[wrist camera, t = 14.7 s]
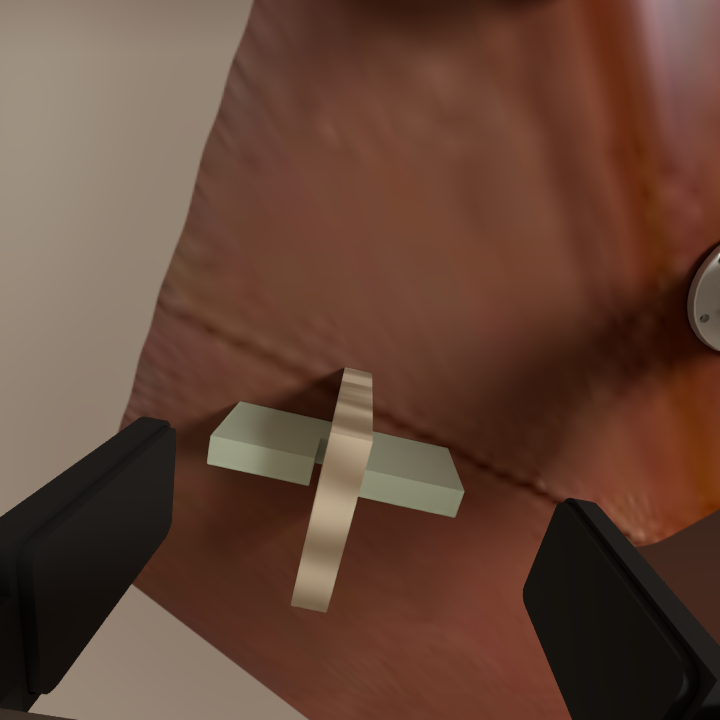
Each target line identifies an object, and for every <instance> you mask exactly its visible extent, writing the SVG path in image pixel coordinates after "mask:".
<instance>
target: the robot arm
mask: <svg viewBox="0 0 720 720" xmlns="http://www.w3.org/2000/svg"><path fill="white" fill-rule="evenodd" d="M687 312H688V319H689V322H690V325H691V328H692V329H693V331H694V333H695V334H696V336H697V337H698V338H699V339H700V340H701V341H702V342H703V343H704V344H705V345H707V346H709V347H711V348H712V349H714V350H717V351H720V245H719V246H718V247H717V248H716V249H715V250H714V251H713V252H712V253H711V254H710V255H709V256H708V257H707V258H706V259H705V261H704V262H703V263H702V265H701V266H700V268H699V269H698V271H697V273H696V275H695V277H694V279H693V281H692V284H691V287H690V290H689V293H688V301H687ZM175 451H176V430H175V429H174V428H170V423H169V422H168V421H165V420H160V419H155V418H149V417H141V418H139V419H137V420H136V421H134V422H133V423H132V424H130V425H129V426H127V427H126V428H125V429H123V430H122V431H120V432H119V433H118V434H116V435H115V436H113V437H112V438H111V439H109V440H108V441H106V442H105V443H104V444H102V445H101V446H99V447H98V448H97V449H95V450H94V451H92V452H91V453H90V454H88V455H87V456H85V457H84V458H83V459H81V460H80V461H78V462H77V463H76V464H74V465H73V466H71V467H70V468H69V469H67V470H66V471H64V472H63V473H62V474H60V475H59V476H57V477H56V478H55V479H53V480H52V481H50V482H49V483H47V484H46V485H45V486H43V487H42V488H40V489H39V490H38V491H36V492H35V493H33V494H32V495H31V496H29V497H28V498H26V499H25V500H24V501H22V502H21V503H19V504H18V505H17V506H15V507H14V508H13V509H11V510H10V511H8V512H7V513H5V514H4V515H3V516H1V517H0V720H75V719H68V718H61V717H55V716H48V715H42V714H35V713H29V712H28V711H29V709H30V708H31V707H32V705H33V704H34V703H35V701H36V700H37V699H38V698H39V696H40V695H41V694H48V693H50V692H51V691H52V690H53V689H54V688H55V687H56V686H57V685H58V684H59V682H60V681H61V680H62V678H63V677H64V675H65V674H66V673H67V671H68V670H69V669H70V667H71V666H72V665H73V663H74V662H75V660H76V659H77V658H78V656H79V655H80V653H81V652H82V651H83V650H84V648H85V647H86V645H87V644H88V643H89V641H90V640H91V639H92V637H93V636H94V635H95V633H96V632H97V630H98V629H99V628H100V626H101V625H102V624H103V622H104V621H105V619H106V618H107V617H108V615H109V614H110V613H111V611H112V610H113V608H114V607H115V606H116V604H117V603H118V602H119V600H120V599H121V598H122V596H123V595H124V594H125V592H126V591H127V589H128V588H129V586H130V585H131V584H132V583H133V581H134V580H135V578H136V577H137V576H138V574H139V573H140V572H141V570H142V569H143V568H144V566H145V565H146V563H147V562H148V561H149V559H150V558H151V557H152V555H153V554H154V553H155V551H156V550H157V548H158V547H159V546H160V544H161V543H162V542H163V540H164V539H165V537H166V536H167V534H168V532H169V529H170V526H171V522H172V507H173V489H174V470H175ZM523 601H524V604H525V607H526V609H527V612H528V614H529V617H530V619H531V622H532V624H533V626H534V629H535V631H536V634H537V636H538V638H539V641H540V643H541V646H542V648H543V650H544V653H545V655H546V658H547V660H548V663H549V665H550V667H551V670H552V672H553V675H554V677H555V679H556V682H557V684H558V687H559V689H560V691H561V694H562V696H563V699H564V701H565V704H566V706H567V708H568V711H569V713H570V716H571V718H572V720H720V646H719V645H718V644H717V643H716V641H715V640H714V639H713V638H712V637H711V636H710V635H709V633H708V632H707V631H706V630H705V629H704V628H703V626H701V624H700V623H699V622H698V621H697V619H696V618H695V617H694V616H693V615H692V614H691V612H690V611H689V610H688V609H687V608H686V607H685V606H684V604H683V603H682V602H681V601H680V600H679V599H678V597H677V596H676V595H675V594H674V593H673V592H672V590H670V588H669V587H668V586H667V585H666V584H665V582H664V581H663V580H662V579H661V578H660V577H659V575H658V574H657V573H656V572H655V571H654V570H653V568H652V567H651V566H650V565H649V564H648V563H647V561H646V560H645V559H644V558H643V557H642V556H641V555H640V554H639V552H638V551H637V550H636V549H635V548H634V546H633V545H632V544H631V543H630V542H629V541H628V539H627V538H626V537H625V536H624V535H623V534H622V532H621V531H620V530H619V529H618V528H617V527H616V525H615V524H614V523H613V522H612V521H611V520H610V519H609V517H608V516H607V515H606V514H605V513H604V512H603V510H602V509H601V508H600V507H599V506H598V505H597V504H596V503H593V502H589V501H584V500H579V499H573V498H568V499H566V500H565V501H564V502H563V503H559V504H558V505H557V506H556V508H555V511H554V513H553V516H552V518H551V521H550V523H549V526H548V528H547V531H546V533H545V536H544V538H543V540H542V543H541V545H540V548H539V550H538V553H537V555H536V558H535V560H534V563H533V565H532V568H531V570H530V573H529V575H528V578H527V580H526V583H525V585H524V588H523Z"/></svg>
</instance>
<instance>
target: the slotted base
mask: <svg viewBox="0 0 720 720" xmlns="http://www.w3.org/2000/svg"><path fill="white" fill-rule="evenodd" d="M331 426H332V422H329V421H325V420H320V419H316V418H312V417H307V416H303V415H298V414H294V413H289V412H285V411H280V410H276V409H272V408H267V407H263V406H258V405H254V404H249V403H245V402H241V401H240V402H239V403H238V404H237V405H236V407H235V408H234V409H233V410H232V411H231V412H230V414H229V415H228V416H227V417H226V418H225V419H224V421H223V422H222V423H221V424H220V425H219V426H218V428H217V429H216V430H215V431H214V432H213V433H212V434H211V437H210V444H209V452H208V459H207V464H211V465H215V466H220V467H225V468H229V469H234V470H238V471H243V472H248V473H252V474H257V475H261V476H266V477H270V478H275V479H280V480H284V481H289V482H293V483H298V484H302V485H307V486H309V483H310V479H311V475H312V471H313V468H314V464H315V463H318V464H323V461H324V456H325V452H326V448H327V443H328V439H329V435H330V430H331ZM463 494H464V489H463V486H462V484H461V481H460V479H459V476H458V473H457V471H456V468H455V466H454V463H453V460H452V458H451V455H450V453H449V450H448V448H445V447H440V446H436V445H431V444H427V443H422V442H418V441H414V440H409V439H405V438H400V437H396V436H391V435H387V434H383V433H378V432H374V431H373V443H372V447H371V450H370V454H369V458H368V461H367V465H366V469H365V473H364V476H363V480H362V484H361V487H360V491H359V495H358V497H362V498H367V499H371V500H376V501H380V502H385V503H390V504H394V505H399V506H403V507H408V508H412V509H417V510H422V511H426V512H431V513H435V514H440V515H445V516H449V517H454V518H455V516H456V514H457V511H458V508H459V505H460V503H461V500H462V497H463Z"/></svg>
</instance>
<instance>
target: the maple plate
mask: <svg viewBox="0 0 720 720" xmlns="http://www.w3.org/2000/svg"><path fill="white" fill-rule="evenodd" d="M372 443H373V410H372V373H368V372H363V371H359V370H355V369H350V368H346V367H345V369H344V374H343V378H342V382H341V387H340V391H339V395H338V400H337V404H336V408H335V412H334V417H333V421H332V426H331V430H330V435H329V439H328V443H327V448H326V452H325V456H324V461H323V464H322V468H321V473H320V477H319V481H318V486H317V490H316V494H315V499H314V503H313V508H312V512H311V517H310V521H309V525H308V530H307V534H306V539H305V543H304V548H303V552H302V556H301V561H300V565H299V570H298V574H297V579H296V583H295V587H294V592H293V596H292V601H291V606H296V607H301V608H306V609H311V610H315V611H320V612H325V613H327V609H328V605H329V602H330V598H331V594H332V591H333V587H334V583H335V580H336V576H337V572H338V569H339V565H340V561H341V557H342V554H343V550H344V546H345V543H346V539H347V535H348V532H349V528H350V524H351V521H352V517H353V513H354V509H355V506H356V502H357V498H358V495H359V491H360V487H361V484H362V480H363V476H364V473H365V469H366V465H367V461H368V458H369V454H370V450H371V447H372Z"/></svg>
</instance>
